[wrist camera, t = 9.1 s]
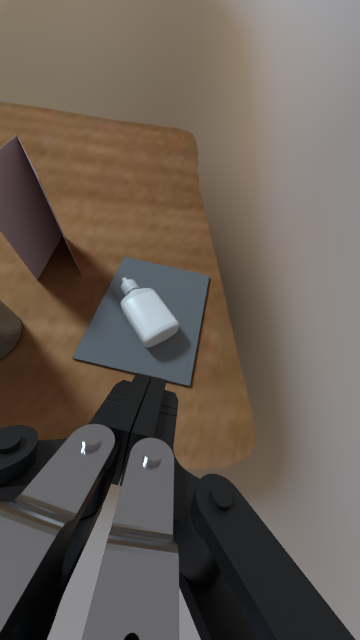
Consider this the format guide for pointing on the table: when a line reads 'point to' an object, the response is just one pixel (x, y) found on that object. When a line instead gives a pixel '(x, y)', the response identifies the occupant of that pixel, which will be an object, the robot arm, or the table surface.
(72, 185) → the table surface
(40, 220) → the greeting card
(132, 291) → the eye dropper bottle
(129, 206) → the table surface
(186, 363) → the mat
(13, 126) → the table surface
